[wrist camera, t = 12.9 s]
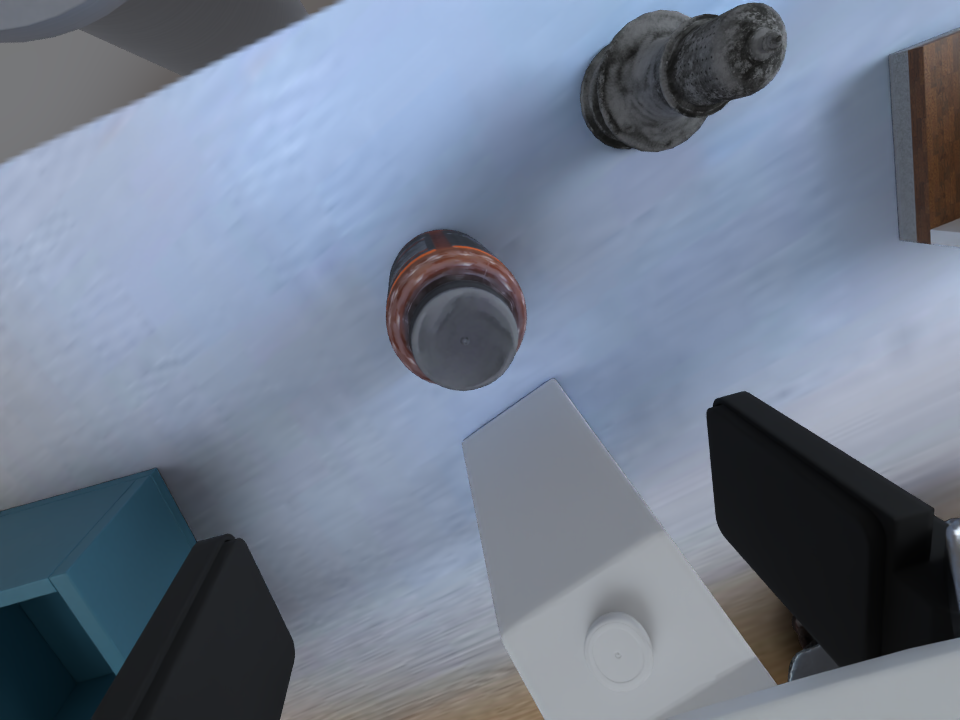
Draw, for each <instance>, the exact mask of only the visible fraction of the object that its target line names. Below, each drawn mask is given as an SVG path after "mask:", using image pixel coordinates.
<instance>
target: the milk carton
mask: <svg viewBox="0 0 960 720" xmlns="http://www.w3.org/2000/svg"><path fill="white" fill-rule="evenodd" d="M462 448H463V453H464V458H465V463H466V468H467V473H468V478H469V483H470V488H471V493H472V498H473V503H474V508H475V513H476V518H477V523H478V528H479V533H480V538H481V543H482V548H483V553H484V558H485V563H486V568H487V573H488V578H489V583H490V588H491V593H492V598H493V603H494V608H495V613H496V618H497V622H498V627H499V631H500V635H501V641H502V643H503V645H504V647H505V648H506V650H507V652H508V654H509V656H510V657H511V659H512V661H513V663H514V665H515V667H516V668H517V670H518V672H519V674H520V676H521V677H522V679H523V681H524V683H525V685H526V687H527V688H528V690H529V692H530V694H531V696H532V697H533V699H534V701H535V703H536V705H537V706H538V708H539V710H540V712H541V714H542V716H543V717H544V719H545V720H661V719H665V718H668V717H672V716H675V715H678V714H682V713H685V712H689V711H692V710H695V709H699V708H702V707H706V706H709V705H712V704H716V703H719V702H723V701H726V700H729V699H733V698H736V697H740V696H743V695H746V694H750V693H753V692H757V691H760V690H763V689H767V688H770V687H774V686H777V684H776V682H775V681H774V680H773V678H772V677H771V676H770V674H769V673H768V671H767V670H766V669H765V667H764V666H763V665H762V663H761V662H760V660H759V659H758V658H757V656H756V655H755V653H754V652H753V651H752V649H751V648H750V647H749V645H748V644H747V642H746V641H745V640H744V638H743V637H742V635H741V634H740V633H739V631H738V630H737V629H736V627H735V626H734V624H733V623H732V622H731V620H730V619H729V617H728V616H727V615H726V613H725V612H724V611H723V609H722V608H721V606H720V605H719V604H718V602H717V601H716V599H715V598H714V597H713V595H712V594H711V593H710V591H709V590H708V588H707V587H706V586H705V584H704V583H703V581H702V580H701V579H700V577H699V576H698V574H697V573H696V572H695V570H694V569H693V568H692V566H691V565H690V563H689V562H688V561H687V559H686V558H685V556H684V555H683V554H682V552H681V551H680V550H679V548H678V547H677V545H676V544H675V543H674V541H673V540H672V538H671V537H670V536H669V534H668V533H667V532H666V530H665V529H664V527H663V526H662V525H661V523H660V522H659V521H658V519H657V518H656V516H655V515H654V514H653V512H652V511H651V510H650V508H649V507H648V505H647V504H646V503H645V501H644V500H643V499H642V497H641V496H640V495H639V493H638V492H637V490H636V489H635V488H634V486H633V485H632V484H631V482H630V481H629V479H628V478H627V477H626V475H625V474H624V473H623V471H622V470H621V468H620V467H619V466H618V464H617V463H616V462H615V460H614V459H613V458H612V456H611V455H610V453H609V452H608V451H607V449H606V448H605V447H604V445H603V444H602V442H601V441H600V440H599V438H598V437H597V436H596V434H595V433H594V431H593V430H592V429H591V427H590V426H589V425H588V423H587V422H586V420H585V419H584V418H583V416H582V415H581V414H580V412H579V411H578V410H577V408H576V407H575V405H574V404H573V403H572V401H571V400H570V399H569V397H568V396H567V394H566V393H565V392H564V390H563V389H562V388H561V386H560V385H559V383H558V382H557V381H556V380H555V379H550V380H549V381H547V382H546V383H544V384H543V385H541V386H540V387H539V388H537V389H536V390H534V391H533V392H532V393H530V394H529V395H527V396H526V397H524V398H523V399H522V400H520V401H519V402H517V403H516V404H514V405H513V406H512V407H510V408H509V409H507V410H506V411H505V412H503V413H502V414H500V415H499V416H497V417H496V418H495V419H493V420H492V421H490V422H489V423H487V424H486V425H485V426H483V427H482V428H480V429H479V430H478V431H476V432H475V433H473V434H472V435H470V436H469V437H468V438H466V439H465V440H464V441H463V442H462Z"/></svg>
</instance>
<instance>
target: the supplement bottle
mask: <svg viewBox="0 0 960 720" xmlns="http://www.w3.org/2000/svg"><path fill="white" fill-rule="evenodd" d="M526 320H527V313H526V304H525V299H524V296H523V293H522V290H521V288H520V286H519V284H518V282H517V281H516V279H515V278H514V276H513V275H512V273H511V272H510V271H509V270H508V269H507V268H506V267H505V266H504V265H503V264H502V262H501V261H499V260H498V259H497V258H496V257H495V256H494V255H493V254H492V253H490V252H489V251H488V250H487V249H486V248H485V247H483V245H481V244H480V243H479V242H478V241H476V240H475V239H473V238H472V237H470V236H468V235H466V234H463V233H461V232H458V231H453V230H433V231H429V232H425V233H423V234H420V235H418V236H417V237H415V238H414V239H412V240H411V241H410V242H408V243H407V244H406V245H405V246H404V247H403V248H402V250H401V251H400V252H399V254H398V256H397V257H396V259H395V261H394V263H393V266H392V268H391V272H390V278H389V288H388V296H387V305H386V326H387V331H388V336H389V339H390V342H391V345H392V347H393V349H394V351H395V353H396V354H397V356H398V357H399V359H400V360H401V361H402V363H403V364H404V365H405V366H406V367H407V368H408V369H409V370H410V371H411V372H412V373H414V374H415V375H417V376H418V377H420V378H421V379H424V380H426V381H428V382H430V383H435V384H438V385H440V386H442V387H445V388H448V389H452V390H459V391H467V390H474V389H478V388H481V387H483V386H487V385H488V384H490V383H492V382H494V381H495V380H497V379H498V378H499V377H500V376H501V375H503V374H504V372H505V371H506V370H507V368H508V367H509V365H510V364H511V362H512V360H513V358H514V356H515V354H516V352H517V351H518V349H519V347H520V345H521V342H522V340H523V336H524V333H525V330H526Z"/></svg>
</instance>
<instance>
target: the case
mask: <svg viewBox="0 0 960 720" xmlns="http://www.w3.org/2000/svg"><path fill="white" fill-rule="evenodd" d="M196 543H197V542H196V540H195V538H194V536H193V534H192V532H191V530H190V529H189V527H188V525H187V523H186V521H185V519H184V518H183V516H182V514H181V512H180V510H179V508H178V507H177V505H176V503H175V501H174V499H173V497H172V495H171V494H170V492H169V490H168V488H167V486H166V484H165V483H164V481H163V479H162V477H161V475H160V473H159V472H158V470H157V468H155V469H151V470H148V471H144V472H141V473H137V474H133V475H130V476H126V477H123V478H119V479H115V480H112V481H108V482H105V483H101V484H98V485H94V486H90V487H87V488H83V489H80V490H76V491H72V492H69V493H65V494H62V495H58V496H54V497H51V498H47V499H44V500H40V501H37V502H33V503H29V504H26V505H22V506H19V507H15V508H11V509H8V510H4V511H1V512H0V720H90V719H91V718H92V716H93V714H94V713H95V711H96V709H97V708H98V706H99V704H100V702H101V701H102V699H103V697H104V696H105V694H106V692H107V691H108V689H109V687H110V686H111V684H112V682H113V681H114V679H115V677H116V676H117V674H118V672H119V671H120V669H121V667H122V665H123V664H124V662H125V660H126V659H127V657H128V655H129V654H130V652H131V650H132V649H133V647H134V645H135V644H136V642H137V640H138V639H139V637H140V635H141V633H142V632H143V630H144V628H145V627H146V625H147V623H148V622H149V620H150V618H151V617H152V615H153V613H154V612H155V610H156V608H157V607H158V605H159V603H160V601H161V600H162V598H163V596H164V595H165V593H166V591H167V590H168V588H169V586H170V585H171V583H172V581H173V580H174V578H175V576H176V575H177V573H178V571H179V569H180V568H181V566H182V564H183V563H184V561H185V559H186V558H187V556H188V554H189V553H190V551H191V549H192V548H193V546H194V545H195V544H196Z"/></svg>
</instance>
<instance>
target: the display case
mask: <svg viewBox="0 0 960 720" xmlns="http://www.w3.org/2000/svg"><path fill="white" fill-rule="evenodd" d="M889 69H890V85H891V102H892V119H893V136H894V152H895V169H896V186H897V202H898V219H899V236H900V240H901V241H909V242H917V243H924V244H932V245H940V246H948V247H956V248H960V28H957V29H954V30H952V31H949V32H947V33H944V34H942V35H939V36H937V37H934V38H931V39H929V40H926V41H924V42H921V43H919V44H916V45H913V46H911V47H908V48H906V49H903V50H901V51H898V52H895V53H893V54H890V55H889Z"/></svg>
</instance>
